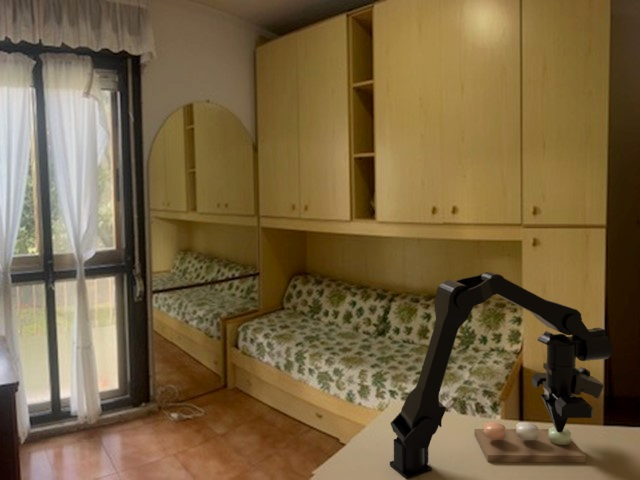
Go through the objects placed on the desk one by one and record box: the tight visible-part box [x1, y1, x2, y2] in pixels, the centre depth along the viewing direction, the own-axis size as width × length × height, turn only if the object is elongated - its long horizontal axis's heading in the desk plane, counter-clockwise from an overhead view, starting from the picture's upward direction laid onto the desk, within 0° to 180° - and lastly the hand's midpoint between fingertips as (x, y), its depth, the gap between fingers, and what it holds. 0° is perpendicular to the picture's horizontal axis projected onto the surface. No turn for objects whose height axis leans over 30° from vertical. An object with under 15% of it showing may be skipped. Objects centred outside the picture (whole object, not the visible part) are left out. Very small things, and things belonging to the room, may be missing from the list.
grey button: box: [515, 422, 539, 440], centre depth 117 cm, size 4×4×2 cm
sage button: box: [548, 426, 572, 445], centre depth 117 cm, size 4×4×2 cm
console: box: [473, 428, 586, 463], centre depth 117 cm, size 20×12×2 cm, turn 87°
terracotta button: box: [483, 421, 506, 440], centre depth 117 cm, size 4×4×2 cm
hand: (559, 431), depth 116 cm, fingers closed, pressing on sage button
